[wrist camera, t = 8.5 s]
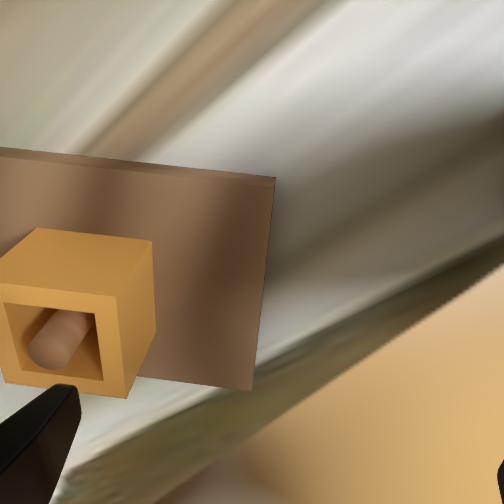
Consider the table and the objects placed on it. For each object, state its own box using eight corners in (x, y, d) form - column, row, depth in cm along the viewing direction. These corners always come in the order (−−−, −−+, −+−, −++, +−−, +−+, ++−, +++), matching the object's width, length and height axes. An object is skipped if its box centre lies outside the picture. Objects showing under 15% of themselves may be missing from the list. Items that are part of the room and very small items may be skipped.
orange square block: (151, 240, 20) (116, 296, 16) (156, 332, 22) (126, 398, 19) (36, 227, 20) (-26, 279, 16) (54, 319, 23) (4, 382, 19)
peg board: (275, 177, 19) (265, 245, 14) (253, 375, 25) (240, 476, 20) (-75, 138, 20) (-217, 188, 14) (-15, 339, 26) (-98, 428, 20)
